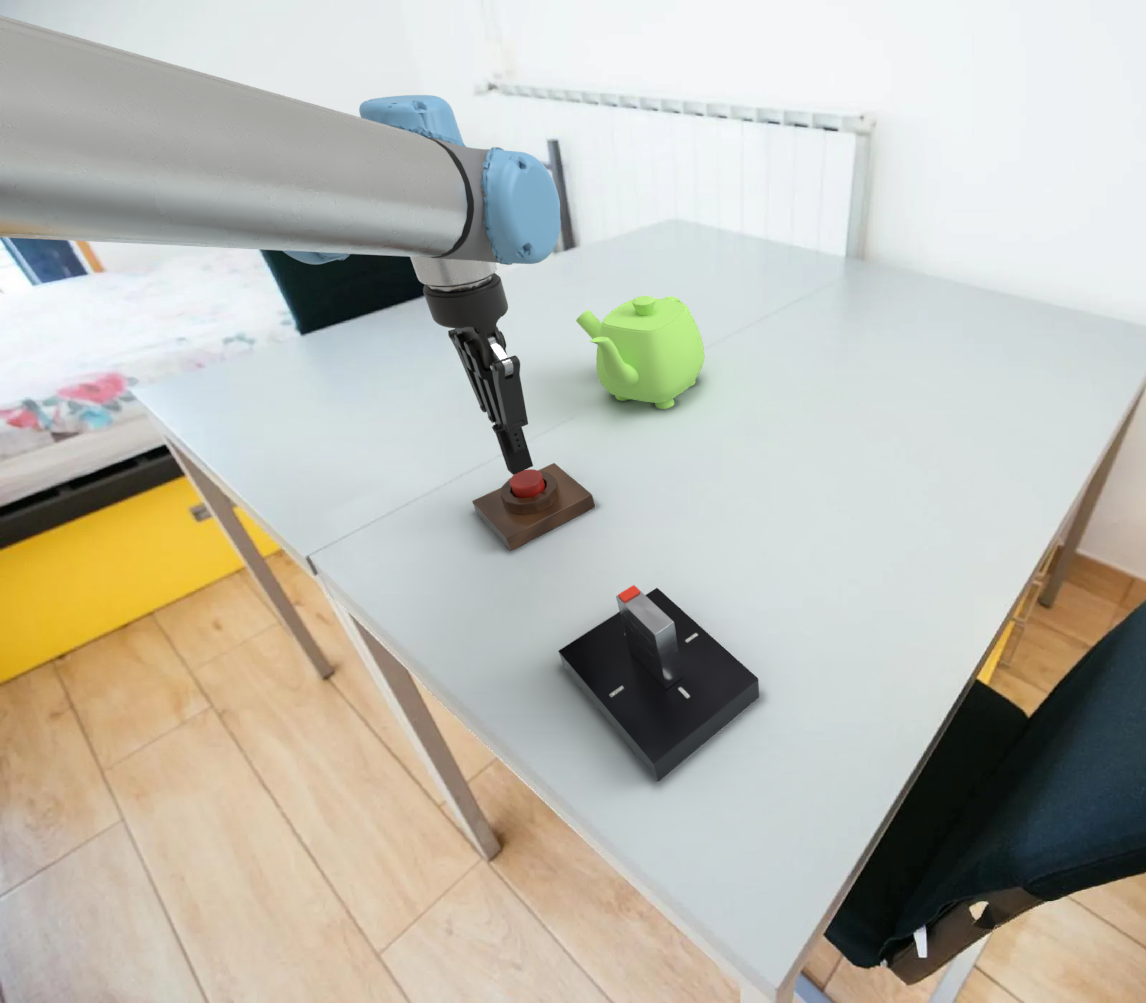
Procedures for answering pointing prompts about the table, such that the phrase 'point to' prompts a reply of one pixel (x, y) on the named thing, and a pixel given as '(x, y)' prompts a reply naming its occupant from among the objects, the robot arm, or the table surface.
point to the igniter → (533, 508)
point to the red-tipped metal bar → (650, 636)
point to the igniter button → (527, 483)
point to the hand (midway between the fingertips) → (520, 467)
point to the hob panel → (661, 688)
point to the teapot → (646, 349)
